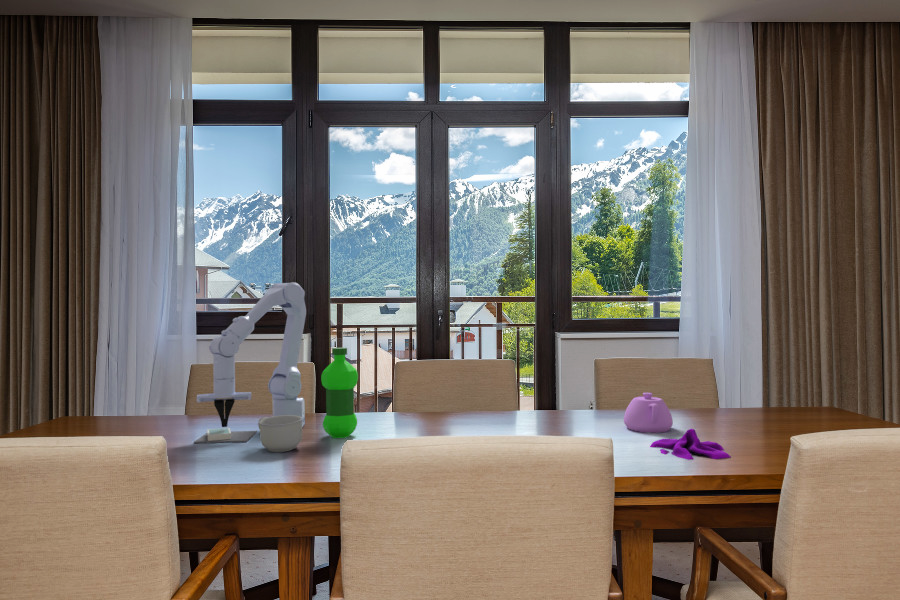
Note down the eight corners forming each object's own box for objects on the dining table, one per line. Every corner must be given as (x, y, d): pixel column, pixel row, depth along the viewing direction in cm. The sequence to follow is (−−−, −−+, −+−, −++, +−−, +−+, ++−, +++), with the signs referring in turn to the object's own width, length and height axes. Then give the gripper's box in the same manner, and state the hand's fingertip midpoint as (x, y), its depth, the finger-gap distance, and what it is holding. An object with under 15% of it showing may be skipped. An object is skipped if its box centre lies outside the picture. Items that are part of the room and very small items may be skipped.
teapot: (662, 421, 195) (661, 387, 195) (681, 435, 175) (680, 397, 175) (617, 421, 196) (616, 387, 196) (630, 435, 176) (630, 397, 176)
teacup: (310, 449, 163) (309, 418, 163) (271, 456, 155) (271, 424, 155) (283, 441, 173) (283, 412, 173) (246, 447, 165) (246, 417, 165)
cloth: (645, 442, 170) (645, 419, 170) (718, 444, 166) (718, 421, 166) (656, 463, 148) (656, 437, 148) (741, 467, 144) (741, 440, 144)
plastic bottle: (318, 434, 181) (317, 347, 181) (353, 431, 185) (353, 346, 185) (325, 441, 171) (324, 350, 171) (363, 437, 176) (362, 348, 176)
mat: (256, 432, 184) (256, 430, 184) (246, 442, 172) (246, 440, 172) (207, 433, 183) (207, 432, 183) (193, 443, 170) (193, 442, 170)
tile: (231, 433, 174) (207, 435, 171) (231, 438, 174) (207, 440, 171) (229, 427, 181) (207, 429, 179) (229, 433, 181) (207, 435, 179)
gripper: (251, 375, 183) (251, 422, 183) (198, 377, 179) (198, 425, 179) (251, 378, 177) (251, 426, 177) (195, 380, 172) (196, 430, 172)
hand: (224, 426), depth 177 cm, fingers closed
